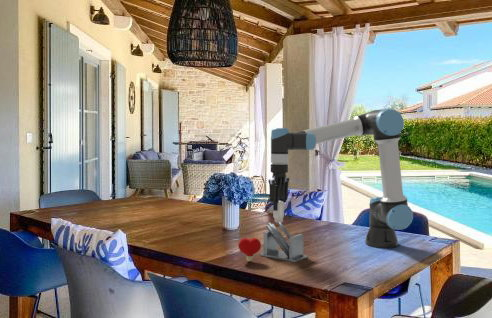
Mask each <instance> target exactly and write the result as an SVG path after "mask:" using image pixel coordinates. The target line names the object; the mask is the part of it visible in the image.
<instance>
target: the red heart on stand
mask: <svg viewBox="0 0 492 318" xmlns="http://www.w3.org/2000/svg"><path fill="white" fill-rule="evenodd" d="M261 247H262V243H261V241H260V240H259V239H258V238H257V237H252V238H250V239H249V238H248V237H243V238H241V239H240V240H239V242H238V249H239V251H240V252H241V253H242V254H244V255H245V256H246V261H247V262H248V263H251V262H252V261H253V260H254V259H253V257H254V255H255V254H256V253H258V252H260V250H261Z"/></svg>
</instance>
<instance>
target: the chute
mask: <svg viewBox="0 0 492 318" xmlns="http://www.w3.org/2000/svg"><path fill="white" fill-rule="evenodd" d="M276 223H277V225H278V226H279V228H280V229H281V231H282V232H283V233H284V235H285V236H286V237H287V238H288V241H287V239H286V238H285V236H283V234H282V233H281V231H280V230H279V228H278V227H277V226H276V225H275V223H272V222H268V223H267V225H266V227H265V228H266V229H267V231H263V236H262V237H263V241H262V242H263V246H262V247H263V251H262V252H261V253H259V256H261V257H266V258H270V259H276V260H282V261H286V262H293V263H297V262H299V261H302V260H304V259H306V258H308V255H305V254H304V233H298V234H294V235H291V233H290V232H289V231H288V230H287V229H286V227H285V225H284V224H283V222H281V223H278V222H276ZM279 247H280V248H281V249H282V250H279Z"/></svg>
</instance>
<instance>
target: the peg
mask: <svg viewBox="0 0 492 318" xmlns="http://www.w3.org/2000/svg"><path fill="white" fill-rule="evenodd" d="M278 203H280V214H279V218H274V223H277V222H278V223H283V222H284V217H283V201H279V202H278Z"/></svg>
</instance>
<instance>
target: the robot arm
mask: <svg viewBox="0 0 492 318" xmlns="http://www.w3.org/2000/svg"><path fill="white" fill-rule="evenodd" d="M404 127H405V121H404V118H403V116H402V114H401V113H400V112H399V111H397V110H396V109H393V108H383V109H373V110H371V111H368V112H365V113H363V114H359V115H356V116H354V118H351V119H348V120H343V121H339V122H334V123H329V124H326V125H321V126H318V127H313V128H309V129H305V130H299V131H295V132H293V131H292V132H290V131H289V128H286V127H274V128H272V129H271V134H270V163H271V164H270V173H272V177H271V179H270V178H269V179H268V184H269V202H270V203H272V204H273V207H272V211H273V212H272V213H273V215H272V217H273V218H274V219H275V218H279V214H280V203H278V202H279V201H283V218H284V217H285V203H287V200H288V198H289V197H288V195H289V182H290V177H287V173H289V164H288V163H289V151H313V150H315V149H316V146H317V144H322V143H326V142H330V141H336V140H340V139H345V138H348V137H353V136H359V137H362V136H369V135H371V136H372V135H373V141H374V142H376V144H377V146H378V147H377V148H378V158H379V166H380V167H379V168H380V177H381V185H382V187H381V188H382V195H383V196H372V197H371V198H370V199H369V204H368V205H369V220H368V221H369V224H368V225H369V228H368V230H367V233H366V237H365V244H366V245H367V246H370V247H373V246H374V247H375V248H381V247H382V248H383V249H385V248H386V249H387V248H389V247H391V248H395V246H396V247H397V246H399V240H398V236H397V234H396V231H400V230H401V231H402V230H405V229H407V228H408V227H409V226H410V225H411V224H412V222H413V220H414V213H413V210H412V208H411V207H410V206H409V204H408V198H407V197H406V196H405V195H404V190H403V181H402V172H401V162H400V161H401V160H400V151H399V141H400V140H401V138H402V134H401V132H402V130H403V128H404ZM395 230H396V231H395ZM382 248H381V249H382ZM389 249H390V248H389Z"/></svg>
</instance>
